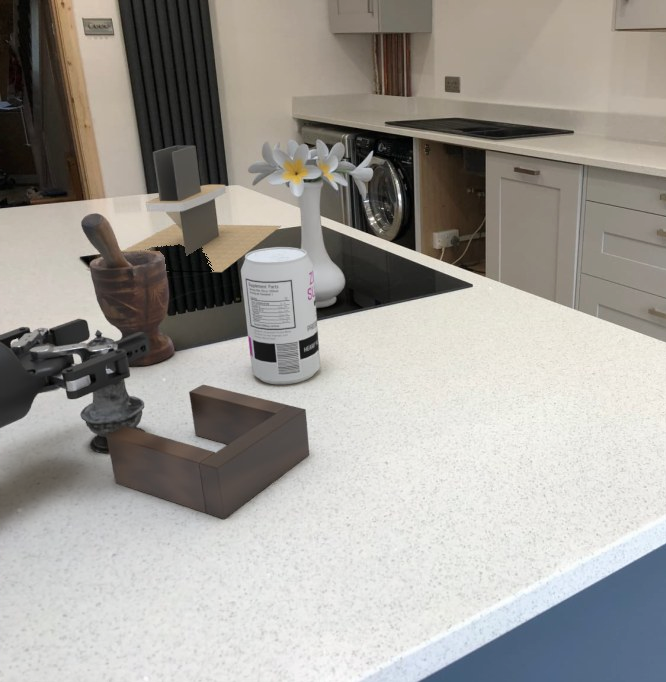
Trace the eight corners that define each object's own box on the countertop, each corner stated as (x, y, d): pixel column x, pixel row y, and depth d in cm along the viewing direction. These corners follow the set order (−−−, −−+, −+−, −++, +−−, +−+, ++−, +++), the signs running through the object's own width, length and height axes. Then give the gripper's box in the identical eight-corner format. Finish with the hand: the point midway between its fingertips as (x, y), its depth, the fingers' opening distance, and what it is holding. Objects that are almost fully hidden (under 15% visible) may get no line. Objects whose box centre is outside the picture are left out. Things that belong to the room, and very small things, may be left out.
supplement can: (241, 371, 91) (227, 253, 85) (300, 354, 96) (291, 242, 90) (271, 392, 85) (258, 268, 80) (333, 374, 90) (325, 255, 85)
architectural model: (173, 224, 169) (161, 136, 162) (281, 225, 168) (273, 136, 161) (86, 269, 134) (65, 159, 127) (221, 272, 132) (208, 160, 125)
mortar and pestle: (179, 373, 90) (154, 212, 83) (102, 383, 88) (70, 217, 80) (178, 341, 100) (156, 194, 93) (110, 349, 98) (82, 199, 90)
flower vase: (389, 304, 115) (383, 140, 106) (272, 322, 107) (256, 147, 98) (360, 282, 126) (353, 132, 117) (252, 298, 118) (235, 138, 109)
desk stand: (115, 483, 67) (105, 434, 65) (209, 427, 77) (203, 384, 75) (224, 519, 62) (217, 468, 60) (309, 454, 72) (306, 408, 70)
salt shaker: (75, 443, 74) (50, 332, 70) (127, 421, 79) (108, 315, 74) (109, 460, 71) (86, 345, 67) (161, 436, 75) (143, 326, 71)
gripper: (-4, 372, 55) (163, 308, 68) (-115, 341, 61) (59, 288, 74) (18, 459, 57) (174, 382, 71) (-91, 422, 63) (73, 357, 77)
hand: (115, 334), depth 73 cm, fingers open, 8 cm apart
